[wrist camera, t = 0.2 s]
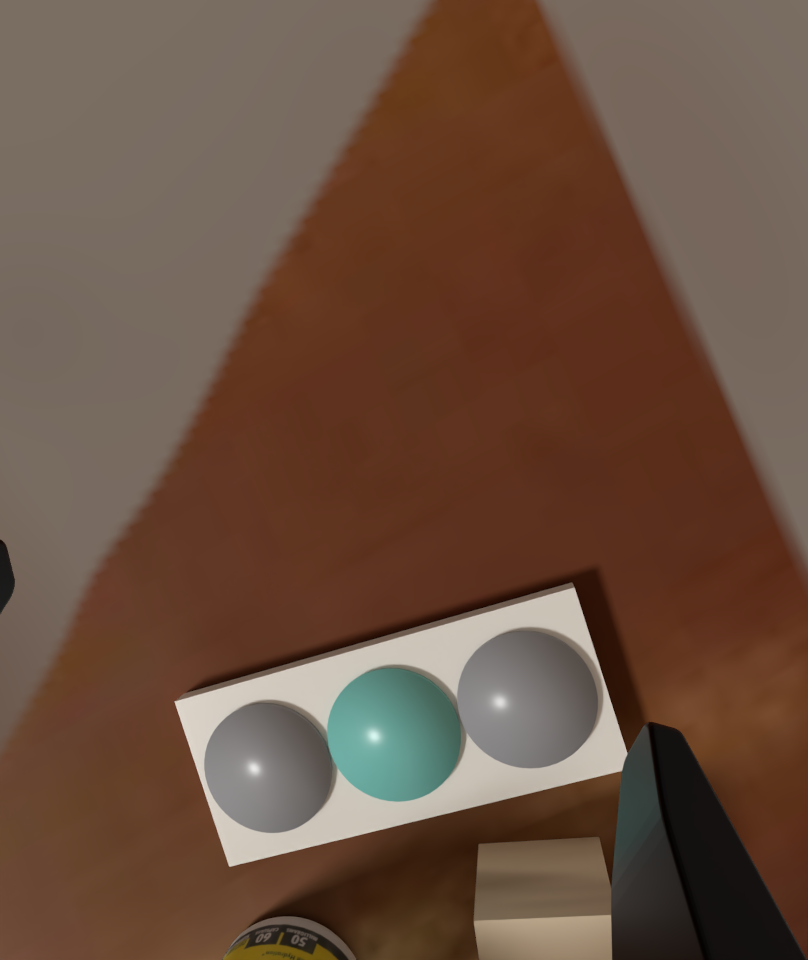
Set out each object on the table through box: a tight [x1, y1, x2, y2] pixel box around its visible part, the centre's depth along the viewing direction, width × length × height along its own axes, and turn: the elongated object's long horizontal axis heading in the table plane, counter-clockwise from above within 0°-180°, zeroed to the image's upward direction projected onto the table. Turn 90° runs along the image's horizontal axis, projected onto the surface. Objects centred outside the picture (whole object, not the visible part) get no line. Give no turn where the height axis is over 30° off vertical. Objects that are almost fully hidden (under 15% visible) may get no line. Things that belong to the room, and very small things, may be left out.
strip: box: [175, 582, 628, 867], centre depth 24 cm, size 6×14×1 cm, turn 108°
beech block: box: [474, 837, 612, 960], centre depth 22 cm, size 4×4×4 cm
